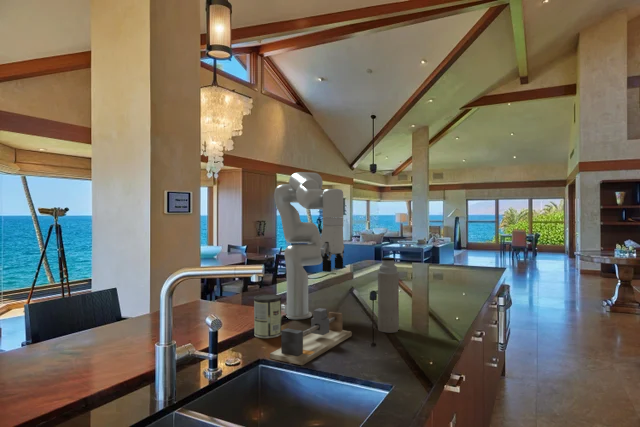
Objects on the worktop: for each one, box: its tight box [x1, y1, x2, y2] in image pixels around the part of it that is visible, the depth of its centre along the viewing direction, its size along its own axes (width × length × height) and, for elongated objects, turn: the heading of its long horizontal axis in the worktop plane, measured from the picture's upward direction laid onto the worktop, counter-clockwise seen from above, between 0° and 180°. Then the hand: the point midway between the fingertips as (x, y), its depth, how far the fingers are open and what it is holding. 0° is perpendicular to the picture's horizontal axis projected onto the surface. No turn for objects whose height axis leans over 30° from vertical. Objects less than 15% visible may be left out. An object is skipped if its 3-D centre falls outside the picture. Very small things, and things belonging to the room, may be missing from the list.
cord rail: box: [269, 311, 353, 366], centre depth 136 cm, size 12×34×8 cm, turn 150°
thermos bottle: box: [377, 256, 400, 334], centre depth 156 cm, size 8×8×28 cm
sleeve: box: [310, 307, 329, 335], centre depth 140 cm, size 5×4×8 cm
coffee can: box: [253, 293, 283, 339], centre depth 150 cm, size 10×10×14 cm
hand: (333, 269), depth 146 cm, fingers open, 9 cm apart
